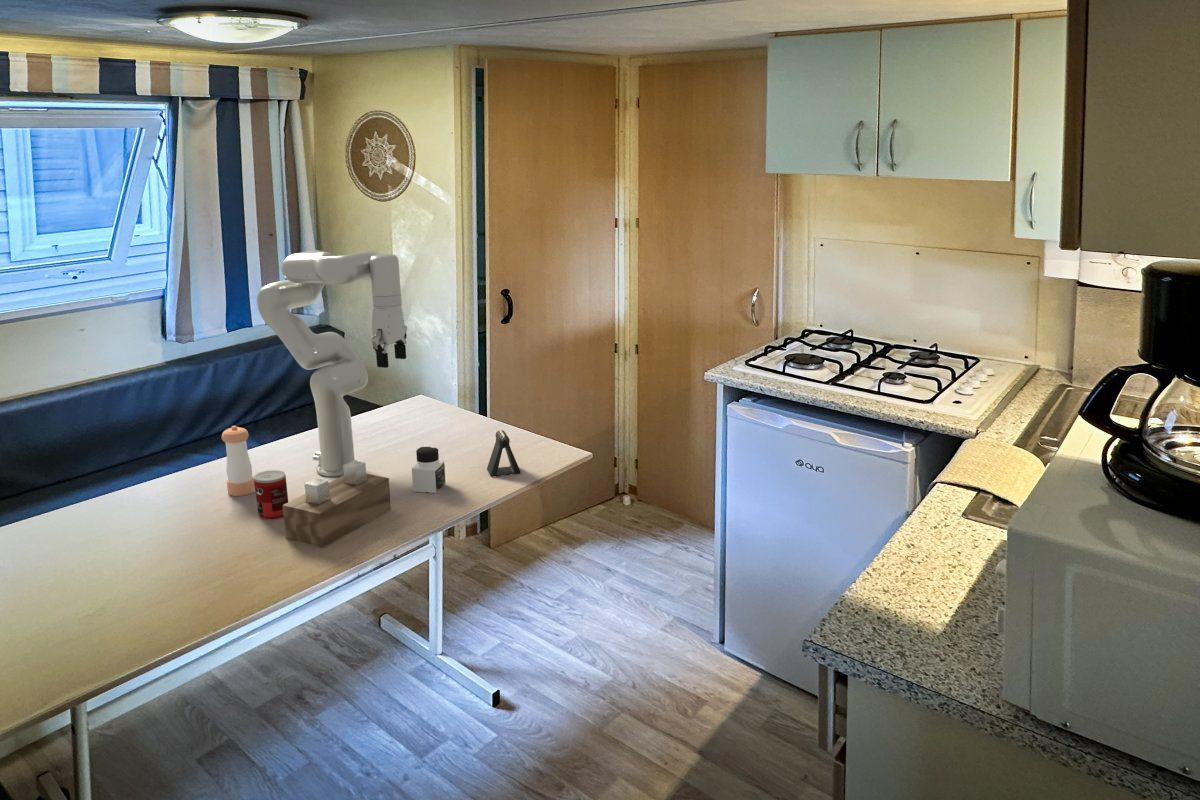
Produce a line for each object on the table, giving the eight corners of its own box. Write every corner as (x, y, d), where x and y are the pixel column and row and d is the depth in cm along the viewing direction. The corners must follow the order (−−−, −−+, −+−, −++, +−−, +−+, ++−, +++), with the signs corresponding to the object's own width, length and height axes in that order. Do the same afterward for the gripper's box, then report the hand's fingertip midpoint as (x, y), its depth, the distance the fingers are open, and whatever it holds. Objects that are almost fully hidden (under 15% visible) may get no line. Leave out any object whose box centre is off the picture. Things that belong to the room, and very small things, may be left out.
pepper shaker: (261, 488, 271) (253, 424, 265) (241, 497, 265) (233, 431, 259) (241, 484, 274) (234, 420, 268) (222, 493, 268) (213, 428, 262)
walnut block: (286, 538, 239) (282, 505, 237) (355, 501, 261) (353, 470, 259) (323, 547, 234) (319, 513, 231) (391, 509, 256) (388, 478, 254)
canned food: (262, 509, 257) (257, 470, 254) (292, 507, 258) (288, 469, 255) (254, 520, 250) (249, 481, 247) (286, 519, 250) (281, 480, 247)
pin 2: (345, 494, 251) (343, 465, 249) (355, 488, 254) (353, 460, 252) (357, 496, 249) (355, 467, 247) (367, 491, 253) (365, 462, 250)
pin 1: (307, 513, 239) (304, 483, 237) (318, 507, 243) (315, 478, 240) (319, 516, 237) (316, 486, 235) (330, 510, 241) (328, 480, 238)
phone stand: (516, 466, 287) (515, 428, 283) (520, 473, 281) (519, 434, 278) (486, 470, 284) (485, 431, 281) (490, 477, 279) (488, 438, 275)
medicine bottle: (437, 493, 267) (434, 453, 263) (412, 492, 268) (410, 451, 265) (445, 484, 273) (443, 444, 270) (422, 482, 275) (419, 443, 271)
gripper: (390, 294, 266) (395, 354, 271) (357, 306, 251) (363, 369, 256) (415, 295, 264) (419, 356, 269) (383, 307, 248) (388, 371, 253)
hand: (392, 362), depth 262 cm, fingers open, 9 cm apart
